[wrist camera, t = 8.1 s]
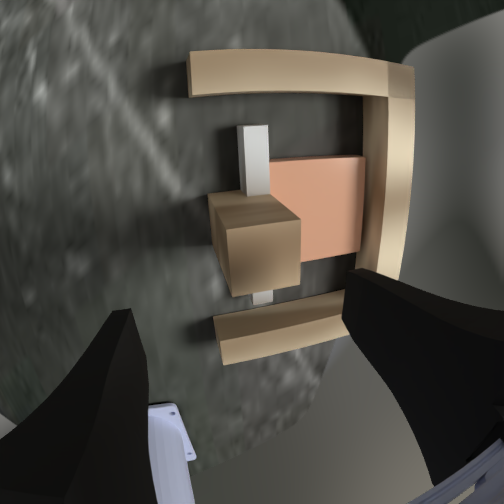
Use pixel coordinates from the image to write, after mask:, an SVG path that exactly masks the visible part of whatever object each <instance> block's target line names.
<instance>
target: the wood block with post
mask: <svg viewBox="0 0 504 504" xmlns="http://www.w3.org/2000/svg"><path fill="white" fill-rule="evenodd" d="M237 139H238V156H239V173H240V190H233V191H225V192H217V193H209V194H208V205H209V215H210V225H211V234H212V244H213V247H214V250H215V253H216V255H217V258H218V261H219V263H220V266H221V269H222V271H223V274H224V277H225V279H226V282H227V284H228V287H229V290H230V292H231V295H232V297H236V296H241V295H247V294H248V295H249V297H250V299H251V301H252V304H253V305H257V304H262V303H267V302H272V301H273V290H274V289H279V288H284V287H289V286H294V285H299V284H300V261H301V219H300V218H299V217H298V216H296V215H295V214H294V213H293V212H292V211H290V210H289V209H288V208H287V207H286V206H284V205H283V204H282V203H281V202H279V201H278V200H277V199H276V198H275V197H273V196H272V195H271V194H270V172H269V145H268V125H262V124H251V125H237Z"/></svg>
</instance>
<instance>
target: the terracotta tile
mask: <svg viewBox="0 0 504 504" xmlns="http://www.w3.org/2000/svg"><path fill="white" fill-rule="evenodd" d="M365 158H366V157H363V156H360V155H329V156H309V157H293V158H279V159H269V172H270V194H271V195H272V196H273V197H275V198H276V199H277V200H278V201H279V202H281V203H282V204H283V205H284V206H286V207H287V208H288V209H289V210H290V211H292V212H293V213H294V214H295V215H296V216H298V217H299V218H300V219H301V261H300V262H304V261H310V260H315V259H321V258H326V257H332V256H337V255H342V254H348V253H353V252H358V251H360V243H361V232H362V219H363V204H364V185H365Z"/></svg>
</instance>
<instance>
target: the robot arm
mask: <svg viewBox="0 0 504 504" xmlns="http://www.w3.org/2000/svg"><path fill="white" fill-rule="evenodd" d="M341 319H342V321H343V323H344V325H345V327H346V328H347V330H348V332H349V334H350V335H351V337H352V339H353V340H354V342H355V343H356V345H357V346H358V347H359V349H360V350H361V351H362V353H363V354H364V355H365V357H366V358H367V359H368V361H369V362H370V363H371V365H372V366H373V367H374V368H375V370H376V371H377V372H378V374H379V375H380V376H381V378H382V379H383V380H384V382H385V383H386V384H387V386H388V387H389V389H390V390H391V392H392V393H393V395H394V397H395V399H396V400H397V402H398V404H399V406H400V407H401V409H402V411H403V413H404V415H405V417H406V419H407V421H408V423H409V425H410V427H411V429H412V431H413V433H414V435H415V437H416V440H417V442H418V445H419V447H420V449H421V452H422V454H423V457H424V459H425V462H426V466H427V468H428V471H429V474H430V478H431V481H432V484H433V485H434V487H433V488H432V489H430V490H429V491H427V492H425V493H424V494H422V495H420V496H419V497H417V498H415V499H414V500H412V501H410V502H408V503H406V504H448V503H449V502H451V501H452V500H453V499H455V498H456V497H458V496H459V495H460V494H462V493H463V492H464V491H466V490H467V489H468V488H470V487H471V486H472V485H473V484H475V483H476V484H475V491H474V492H473V493H471V494H470V495H469V496H468V497H466V498H465V499H464V500H463V501H462V502H461V503H459V504H504V311H500V310H493V309H487V308H481V307H476V306H472V305H468V304H464V303H460V302H456V301H453V300H449V299H446V298H443V297H440V296H437V295H434V294H431V293H429V292H426V291H423V290H420V289H418V288H415V287H412V286H410V285H408V284H405V283H403V282H400V281H398V280H395V279H393V278H390V277H388V276H385V275H382V274H380V273H377V272H374V271H371V270H368V269H364V268H358V269H353V270H348V271H347V276H346V285H345V293H344V301H343V309H342V316H341ZM148 399H149V382H148V370H147V360H146V355H145V352H144V349H143V346H142V343H141V340H140V336H139V333H138V330H137V327H136V323H135V320H134V317H133V313H132V310H131V308H130V309H123V310H116V311H112V313H111V314H110V315H109V317H108V318H107V320H106V321H105V323H104V324H103V326H102V327H101V329H100V330H99V332H98V333H97V335H96V336H95V338H94V339H93V341H92V342H91V344H90V345H89V346H88V348H87V349H86V351H85V352H84V354H83V355H82V356H81V358H80V359H79V360H78V362H77V363H76V364H75V366H74V367H73V368H72V370H71V371H70V372H69V374H68V375H67V376H66V377H65V379H64V380H63V381H62V382H61V383H60V384H59V386H58V387H57V388H56V389H55V390H54V391H53V392H52V393H51V394H50V396H49V397H48V398H47V399H46V400H45V401H44V402H43V403H42V404H41V405H40V406H39V407H38V408H36V409H35V410H34V411H33V412H32V413H31V414H30V415H29V416H28V417H27V418H26V419H25V420H24V421H23V422H21V423H20V424H19V425H18V426H17V427H16V428H14V429H13V430H12V431H11V432H9V433H8V434H7V435H5V436H4V437H3V438H1V439H0V504H195V501H194V496H193V492H192V487H191V482H190V476H189V471H188V465H187V461H190V460H194V459H196V454H195V451H194V449H193V447H192V444H191V442H190V439H189V437H188V434H187V432H186V429H185V427H184V424H183V422H182V419H181V416H180V414H179V411H178V408H177V406H176V405H175V404H174V403H166V404H158V405H150V406H148Z"/></svg>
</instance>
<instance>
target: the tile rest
mask: <svg viewBox="0 0 504 504" xmlns="http://www.w3.org/2000/svg"><path fill="white" fill-rule="evenodd" d="M186 64H187V80H188V95H189V98H194V97H205V96H217V95H232V94H253V93H319V94H340V95H354V96H363V157H366V158H365V185H364V204H363V219H362V232H361V243H360V251H358V252H357V254H356V264H355V269H358V268H364V269H368V270H371V271H374V272H377V273H380V274H382V275H385V276H388V277H390V278H393V279H395V280H398V278H399V273H400V267H401V261H402V256H403V249H404V243H405V235H406V229H407V221H408V213H409V204H410V195H411V184H412V171H413V156H414V133H415V79H414V67H411V66H407V65H402V64H397V63H392V62H387V61H382V60H376V59H370V58H364V57H357V56H350V55H342V54H333V53H324V52H313V51H299V50H278V49H227V50H207V51H193V52H190V53H189V55H188V58H187V60H186ZM344 293H345V289H343V290H339V291H335V292H330V293H326V294H322V295H317V296H313V297H308V298H303V299H299V300H294V301H289V302H284V303H280V304H275V305H270V306H265V307H260V308H255V309H250V310H244V311H239V312H234V313H228V314H223V315H217V316H213V321H214V327H215V334H216V340H217V344H218V347H219V351H220V355H221V358H222V362H223V365H227V364H232V363H237V362H242V361H247V360H251V359H256V358H260V357H265V356H269V355H274V354H278V353H282V352H286V351H290V350H294V349H298V348H302V347H306V346H310V345H314V344H317V343H321V342H325V341H328V340H332V339H336V338H339V337H343V336H346V335H349V332H348V330H347V328H346V327H345V325H344V323H343V321H342V319H341V316H342V309H343V301H344Z"/></svg>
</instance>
